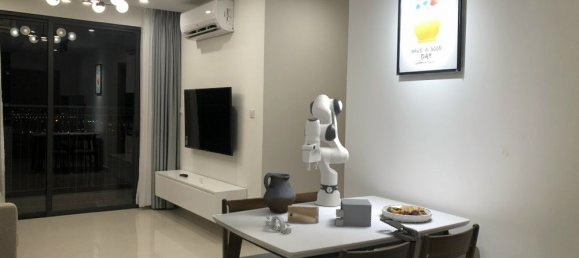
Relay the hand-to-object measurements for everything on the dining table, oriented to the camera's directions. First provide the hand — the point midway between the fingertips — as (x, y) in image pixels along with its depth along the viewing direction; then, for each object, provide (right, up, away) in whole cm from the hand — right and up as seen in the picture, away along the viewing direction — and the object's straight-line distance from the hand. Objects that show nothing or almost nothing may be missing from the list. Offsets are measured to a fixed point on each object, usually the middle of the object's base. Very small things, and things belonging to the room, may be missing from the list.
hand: (311, 169), depth 267 cm
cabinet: (+23, -30, -2) cm, 38 cm away
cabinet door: (-5, -30, -5) cm, 30 cm away
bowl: (+58, -31, +14) cm, 68 cm away
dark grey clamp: (+45, -32, -25) cm, 61 cm away
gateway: (-20, -31, -22) cm, 43 cm away
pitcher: (-20, -28, +20) cm, 40 cm away
